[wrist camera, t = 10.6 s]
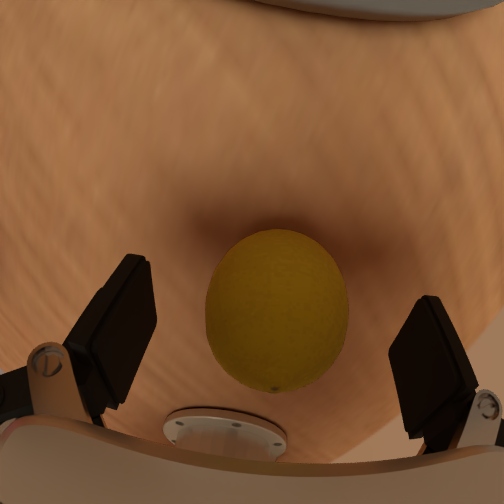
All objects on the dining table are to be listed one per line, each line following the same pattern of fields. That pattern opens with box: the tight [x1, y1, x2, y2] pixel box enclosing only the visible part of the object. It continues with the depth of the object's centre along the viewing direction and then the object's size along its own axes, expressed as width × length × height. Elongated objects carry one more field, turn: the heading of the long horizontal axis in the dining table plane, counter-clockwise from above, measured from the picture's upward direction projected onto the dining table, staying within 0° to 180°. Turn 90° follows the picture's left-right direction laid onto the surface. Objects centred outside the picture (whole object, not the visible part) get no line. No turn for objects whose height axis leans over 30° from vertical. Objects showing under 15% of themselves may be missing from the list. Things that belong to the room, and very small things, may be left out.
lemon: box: [205, 229, 349, 393], centre depth 12 cm, size 6×6×8 cm
